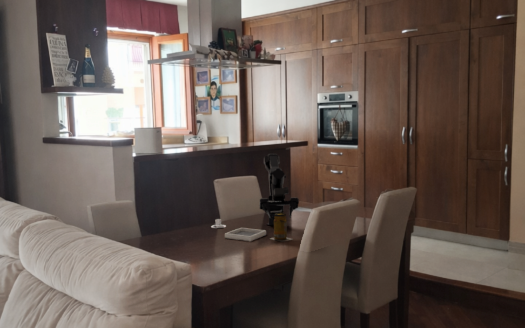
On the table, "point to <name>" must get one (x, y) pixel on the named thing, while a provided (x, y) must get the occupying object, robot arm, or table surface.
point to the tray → (245, 234)
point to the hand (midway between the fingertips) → (280, 217)
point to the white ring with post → (218, 224)
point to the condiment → (280, 227)
